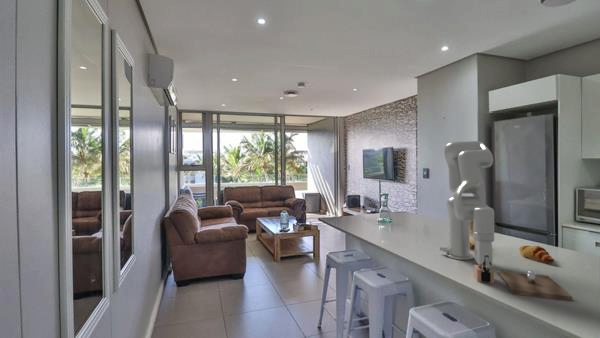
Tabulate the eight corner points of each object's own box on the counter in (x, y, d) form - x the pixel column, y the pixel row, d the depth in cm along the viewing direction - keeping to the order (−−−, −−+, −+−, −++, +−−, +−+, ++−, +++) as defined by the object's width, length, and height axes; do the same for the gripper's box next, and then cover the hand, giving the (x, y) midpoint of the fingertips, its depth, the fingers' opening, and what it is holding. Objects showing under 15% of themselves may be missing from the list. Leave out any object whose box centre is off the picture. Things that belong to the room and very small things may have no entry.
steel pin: (528, 283, 117) (528, 271, 117) (526, 280, 120) (526, 269, 119) (536, 284, 117) (536, 272, 116) (533, 281, 119) (533, 270, 119)
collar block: (477, 281, 124) (477, 269, 124) (474, 276, 129) (474, 264, 129) (494, 283, 122) (494, 271, 122) (490, 277, 127) (490, 266, 127)
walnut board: (512, 293, 112) (512, 289, 112) (497, 274, 131) (497, 271, 131) (572, 300, 106) (572, 296, 106) (548, 279, 124) (548, 275, 124)
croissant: (515, 258, 161) (507, 245, 161) (531, 249, 161) (524, 236, 161) (547, 272, 140) (539, 257, 140) (566, 261, 140) (558, 246, 140)
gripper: (469, 231, 134) (469, 270, 135) (477, 240, 118) (478, 285, 119) (488, 232, 132) (489, 272, 132) (499, 242, 116) (500, 288, 116)
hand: (483, 278), depth 126 cm, fingers closed on collar block, 6 cm apart
